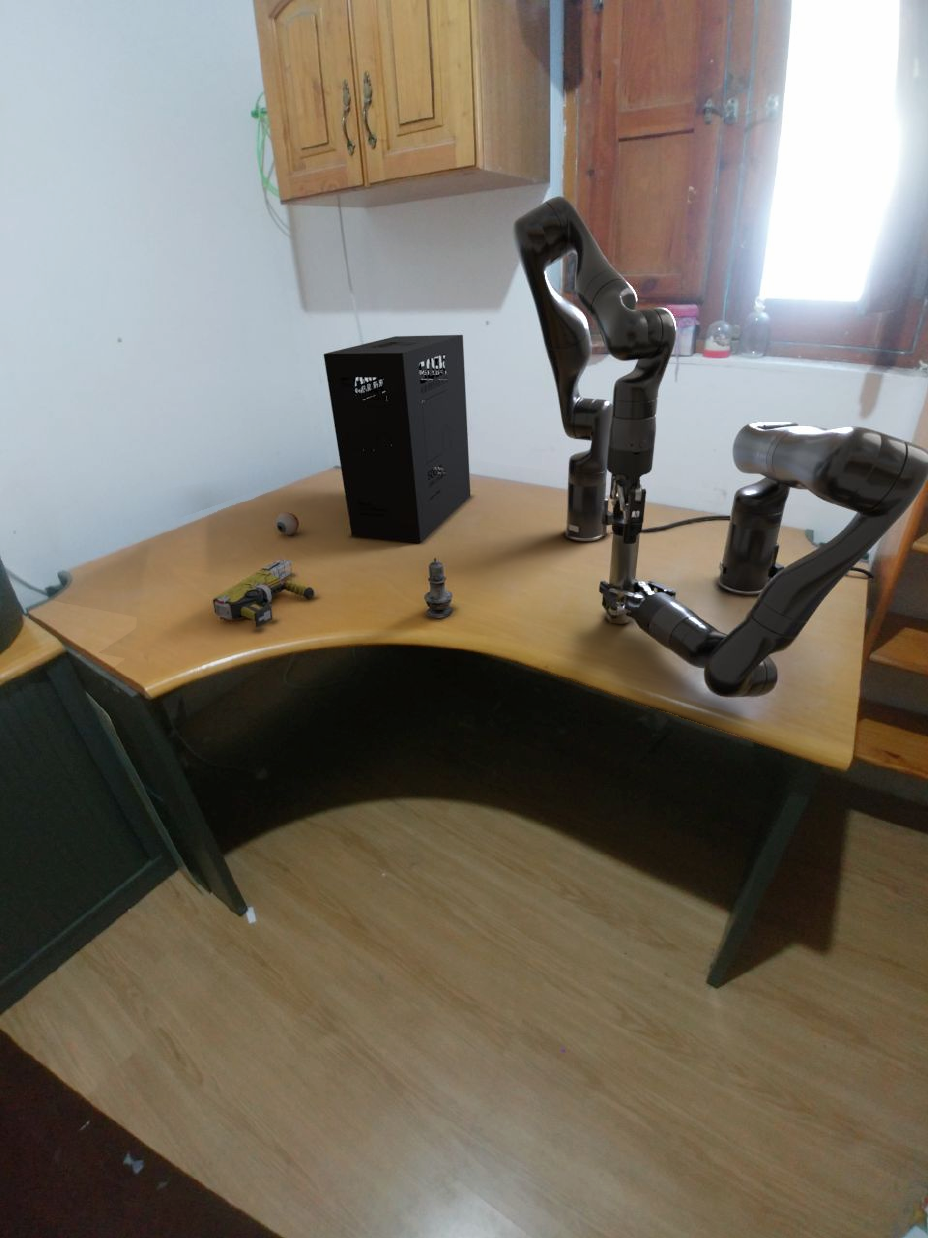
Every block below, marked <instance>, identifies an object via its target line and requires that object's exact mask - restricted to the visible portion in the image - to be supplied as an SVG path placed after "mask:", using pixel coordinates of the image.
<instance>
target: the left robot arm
mask: <svg viewBox="0 0 928 1238" xmlns="http://www.w3.org/2000/svg"><path fill="white" fill-rule="evenodd" d="M512 236H513V241H514V246H515V249H516V252H517V255H518V258H519V262H520V264H521V267H522V270H523V273H524V276H525V279H526V282H527V285H528V288H529V291H530V293H531V296H532V300H533V303H534V306H535V311H536V314H537V317H538V322H539V327H540V330H541V335H542V339H543V345H544V348H545V352H546V355H547V359H548V362H549V364H550V365H549V366H550V368H551V372H552V375H553V380H554V383H555V389H556V393H557V399H558V405H559V412H560V418H561V424H562V428H563V430H564V433H565V435H566V436H567V437H568V438H570V439H573V440H579V441H588V442H590V448H589V449H587V450H584V451H580V452H577V453H574V454H572V455H571V456H570V457H569V459H568V468H567V469H568V473H567V501H566V502H567V503H566V527H565V536H566V537H567V538H568V539H570V540H572V541H576V542H583V543H584V542H586V543H587V542H594V541H599V540H600V539H602V538H604V536H607V530H608V529H607V528H608V527H607V526H609V527H610V526H612V521H613V517H614V516H616V515H620V514H624V528H623V540H622V541H623V543H624V544H634V543H635V542H636V537H637V527H638V524H642V525H643V524H644V518H645V508H646V497H647V496H646V495H647V490H646V488H643V485H642V482H641V477H642V476H644V475H647V474H649V473H650V472H651V471H652V468H653V463H654V455H655V454H654V453H655V445H656V436H657V435H656V434H657V410H658V401H659V389H660V386H661V385H662V384H661V383H662V381H663V378H664V376H665V373H666V371H667V367H668V365H669V362H670V359H671V356H672V353H673V351H674V347H675V343H676V341H677V340H676V339H677V325H676V320H675V318H674V316H673V314H672V312H671V311H670V310H668V309H667V308H665V307H659V306H658V307H657V306H656V307H648V308H637V307H638V297H637V293H636V291H635V290H634V288H633V286H632V285H630V283H629V282H628V281H627V280H626V279H625V278H624V277H623V276H622V275H621V273H619V272H618V271H617V269H616V268H614V267H613V265H612V264H611V263H610V261H609V260H608V259H607V257H606V256H605V254H604V253H603V251H602V249H601V248H600V246H599V244H598V242H597V241H596V239H595V237H594V236H593V234H592V233H591V231H590V229H589V227H588V226H587V225H586V223H585V221H584V220H583V218H582V217H581V215H580V213H579V212H578V210H577V208H575V205H573V204H572V203H571V202H570V200H568V199H567V198H565V197H564V196H561V195H559V196H555V197H552V198H549V199H548V200H546V201H544V202H542V203H541V204H539V205H538V206H535V207H534V208H532V209H531V210H528V211H527V212H525V213H524V214H522V215H521V216H519V217H518V218H517V219H515V221H514V222H513V225H512ZM572 253H573V254H575V255H576V267H575V274H574V289H575V293H576V296H577V299H578V301H579V302H580V304H581V306H582V307H583V308H584V309H585V310H586V311H587V313H588V314H589V315H590V316H591V318H593V320H594V321H595V322H596V325H597V327H598V330H599V333H600V336H601V338H602V342H603V344H604V347H605V349H606V351H607V353H608V354H609V355H610V356H611V357H612V358H614V359H616V360H618V361H622V362H631V361H636V363H635V366H634V367H633V370H632V371H631V372H629V373H627V374H625V375H623V376H621V377H619V378H618V379H616V380H615V383H614V385H613V391H612V402H611V401H610V400H608V399H601V398H586V397H582V396H581V394H580V391H579V383H580V379H581V378H582V376H583V374H584V372H585V370H586V368H587V366H588V364H589V362H590V361H591V360H590V359H591V356H592V353H593V352H592V351H593V344H592V338H591V333H590V329H589V323H588V320H587V317H586V315H585V313H583V311H582V310H581V309H580V308H579V307H578V306H577V305H576V304H574V303H573V302H571V301H570V300H569V299H567V298H566V297H565V296H563V294H561V293H560V292H559V291H558V290H557V289H556V288H555V287H554V286H553V285H552V284H551V283H550V280H549V277H548V275H547V268H548V267H550V266H553V264H556V263H557V262H559V261H561V260H562V259H564V258H566V257H568V256H569V255H570V254H572ZM608 472H609V473H610V474H611V477H610V490H609V498H607V497H606V493H607V477H608ZM609 499H610V500H611V505H612V511H610V510H609ZM633 512H634V515H635V516H634V517H632V514H633ZM730 516H731V515H707V516H699V517H694V518H689V519H684V520H680V521H675V522H672V523H669V524H665V525H662V526H655V527H649V528H645V529H642V531H641V533H647V532H653V531H660V530H664V529H665V530H666V529H668V528H672V527H675V526H679V525H682V524H687V523H692V522H697V521H702V520H712V519H730Z"/></svg>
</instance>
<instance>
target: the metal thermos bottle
mask: <svg viewBox="0 0 928 1238" xmlns="http://www.w3.org/2000/svg"><path fill="white" fill-rule="evenodd" d="M640 537H641V533H640V534H638V535H637V537H636V542H635V543H634V544H624V543H623V541H622V540H623V536H622V535H618V534H615V533H614V532H613V531H612V538H611V539H612V540H611V552H610V553H611V554H610V564H609V565H610V566H609V579H608V584H610V585H611V586H612V587H614V589H617V590H619V591H623V590H626V591H628V592H631V593H633V594H634V589H635V579H636V580H637V578H636V577H637V567H638V558H639V549H640V539H641V538H640ZM615 599H618V596H615ZM625 599H626V597H625ZM606 619H607V621H609V622H610V623H612V624H616V625H625V624H627V623H630V622H631V621H632V619H633V618H632V617H629V616H627V615H625V614H619V615H617V618H616V619H612V618H610V616H609V615H608V613H607V612H606Z"/></svg>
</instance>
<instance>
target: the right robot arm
mask: <svg viewBox="0 0 928 1238" xmlns="http://www.w3.org/2000/svg"><path fill="white" fill-rule="evenodd" d="M731 452H732V460H733V463H734V466H735V467H736V468H737V470H738V471H739V472H741V473H742V474H747V475H749V474H750V475H753V474H755V475H761V476H763V478H762V479H760V480H759V481H756V482H754V483H752V484H748V485H745V486H743V487H741V488H739V489H737V490H736V491H735V493H734V496H733V500H732V505H731V511H730V515H729V516H730V518H729V523H728V528H727V535H726V540H725V544H724V551H723V556H722V561H719V567H718V568H719V571H720V572H719V577H718V581H717V584H718V586H719V587H720V588H721V589H723V590H725V591H726V592H729V593H732V594H735V595H739V596H740V595H741V596H757V595H758V596H757V597H756V599H755V601H754V603H753V604H752V605H751V607H750V608H749V611H748V612H747V614H746V616H745V617H744V619H743V620H742V621H741V622H740V623H739V624H738V625H736V626H735V627H734V628H733V629H731V631H730V632H729V633H728V634H727V633H724V632H722V631H720V630H719V629H717V628H716V627H715V626H714V625H712V624H711V623H710V622H707V621H706V620H705V619H702V618H701V617H700V616H699V615H698V614H697V613H695V612H694V611H693V610H692V609H691V608H689V607H688V606H687V605H686V606H685V605H684V604H683V603H681V602H679V601H678V600H677V599H676V593H677V590H675V589H674V588H671V587H668V586H666V585H663V584H661V583H659V582H656V581H654V580H649V581H648V582H646V583H645V581H643V580H642V581H639V580H638V579H637V578H636V579H635V589H634V594H633V593H631V592H628V591H626V590H623V591H619V590H617V589H614V587H612V586H611V585H610V584H609V582H608V581H606V580H601V581H599V586H598V592H599V593H600V594H601V595H602V598H601V599H602V601H601V606H602V607H603V609H604V611H605V612H606V614H607V613H608V615H609V616H610V618H612V619H616V618H617V615H619V614H625V615H627V616H629V617H632V618H631V619H633V620H634V621H635V623H636V626H637V627H638V628H639V629H641V631H643V632H644V633H645V634H647V636H649V637H651V638H652V639H653V640H654V641H656V642H657V643H659V644H660V645H661V646H663V647H664V648H666V649H668V650H669V651H671V652H672V653H673V654H675V655H677V656H678V657H679V658H680V659H682V660H683V661H685V662H686V663H687V664H689V665H690V666H692V667H695V668H698V669H701V670H702V669H703V680H704V683H705V685H706V687H707V689H708V690H709V691H710V692H711V693H712V694H714V695H716V696H718V697H722V698H758V697H763V696H765V695H768V694H769V693H770V692H772V691H773V690H774V689H775V687H776V686H777V683H778V679H779V672H778V669H777V665H776V664H775V662H774V660H773V659H772V658H771V657H770V656H771V655H773V654H775V653H780V652H782V651H784V650H787V649H789V648H790V647H791V646H792V644H794V642H795V641H796V639H797V638H798V636H799V635H800V634H801V632H802V631H803V630H804V628H805V627H806V625H807V624H808V622H809V621H810V619H811V618H812V617H813V615H814V614H815V612H816V610H818V608H819V606H820V605H821V604H822V602H823V601H824V600H825V598H826V597H827V596H828V595H829V593H831V591H832V590H834V588H835V587H836V586H837V584H839V582H840V581H841V580H842V579H843V578H844V577H845V576H846V575H847V574H848V573H849V572H851V571H852V572H857V573H861V574H864V575H866V576H867V577H868V578H870V579H875V578H876V576H875V575H874V574H873V573H872V572H870V571H869V570H866V569H864V568H861V567H858V566H857V567H855V566H856V565H857V564H858V563H859V562H860V561H861V559H862V558H864V556H865V555H867V553H869V551H870V550H871V549H872V548H873V547H874V546H875V545H876V543H878V541H879V540H880V539H881V538H882V537H883V536H884V535H885V534H886V533H887V532H889V530H890V529H891V528H892V526H893V525H894V524H895V523H896V522H897V521H898V520H899V519H900V518H901V517H902V516H903V514H904V513H906V511H907V510H908V509H909V507H910V506H911V505H912V504H913V503H914V501H915V500H916V499H917V497H918V496H919V495H920V493H921V491H922V490H923V488H924V487H925V484H926V483H927V481H928V450H927V449H926V448H924V447H923V446H920V445H918V444H916V443H912V442H910V441H907V440H904V439H901V438H899V437H896V436H893V435H889V434H886V433H884V432H881V431H878V430H874V429H871V428H868V427H863V426H845V427H838V428H833V429H828V428H824V427H821V426H814V425H802V424H801V425H799V424H798V423H797V422H792V421H774V422H773V421H771V422H770V421H769V422H767V421H765V422H750V423H748V424H745V425H744V426H743V427H741V428H740V429H739V431H738V432H737V434H736V436H735V437H734V441H733V444H732V449H731ZM791 489H796V490H806V491H808V492H810V493H812V494H813V495H814V496H816V497H817V498H818V499H820V500H822V501H824V502H827V503H829V504H832V505H835V506H839V507H841V508H844V509H847V510H850V511H853V512H855V515H854V516H853V517H852V518H851V520H850V521H849V522H848V524H846V526H845V527H843V529H842V530H840V532H838V533H837V535H835V536H834V537H833V538H831V539H830V540H828V541H827V542H826V543H824V544H822V545H821V546H820V547H818V548H816V549H815V550H812V551H811V552H810V553H808V554H805V555H804V556H803V557H800V558H799V559H797V560H795V561H793V562H791V563H790V564H789V565H787V566H784V565H783V564H780V563H778V562H777V558H778V554H779V550H780V544H779V543H778V539H779V535H780V530H781V527H782V526H781V525H782V520H783V516H784V512H785V507H786V503H787V501H788V498H789V495H790V492H791ZM655 589H656V591H655ZM615 596H618V599H615ZM625 597H626V599H625Z"/></svg>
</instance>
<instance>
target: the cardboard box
mask: <svg viewBox="0 0 928 1238" xmlns="http://www.w3.org/2000/svg"><path fill="white" fill-rule="evenodd" d="M464 350H465V349H464V335H463V334H440V335H439V334H438V335H437V334H436V335H435V334H434V335H433V334H432V335H402V336H401V335H397V336H395V335H394V336H391V337H387V338H383V339H378V340H374V341H371V342H367V343H362V344H359V345H354V346H349V347H346V348H341V349H337V350H334V351H329V352H326V353H323V359H324V367H325V373H326V380H327V385H328V392H329V398H330V399H329V400H330V406H331V412H332V418H333V425H334V430H335V437H336V444H337V451H338V456H339V463H340V469H341V476H342V483H343V489H344V495H345V501H346V503H345V504H346V509H347V514H348V520H349V527H350V528H349V529H350V533H351V535H350V536H351V537H359V538H367V539H376V540H377V539H378V540H388V541H397V542H406V543H407V542H408V543H417V544H421V543H422V542H423V541H425V540H426V538H428V537H429V536H430V535H431V534H432V533H433V532H434V531H435V530H436V529H438V527H439V526H441V524H443V522H445V521H446V520H447V519H448V518H449V517H450V516H452V514H453V513H454V512H455V511H457V509H458V508H459V507H461V506H462V505H463V504H464V503H465V502H466V501H467V500H468V499H469V498H470V497H471V478H470V459H469V458H470V457H469V435H468V415H467V413H468V412H467V394H466V392H467V391H466V374H465V373H466V372H465V371H466V370H465V354H464V353H465V352H464ZM422 363H423V365H422ZM440 364H441V365H440ZM440 366H441V367H440ZM366 378H367V380H366ZM370 379H371V380H370ZM361 380H362V381H361Z"/></svg>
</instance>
